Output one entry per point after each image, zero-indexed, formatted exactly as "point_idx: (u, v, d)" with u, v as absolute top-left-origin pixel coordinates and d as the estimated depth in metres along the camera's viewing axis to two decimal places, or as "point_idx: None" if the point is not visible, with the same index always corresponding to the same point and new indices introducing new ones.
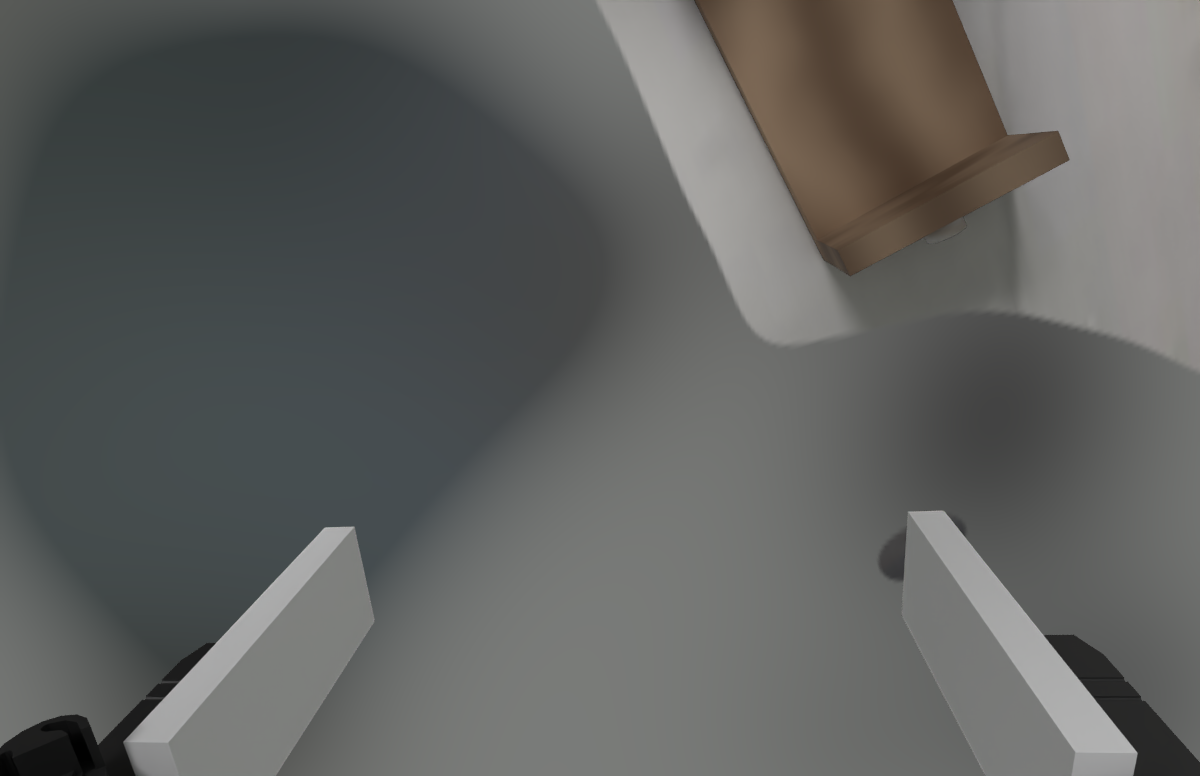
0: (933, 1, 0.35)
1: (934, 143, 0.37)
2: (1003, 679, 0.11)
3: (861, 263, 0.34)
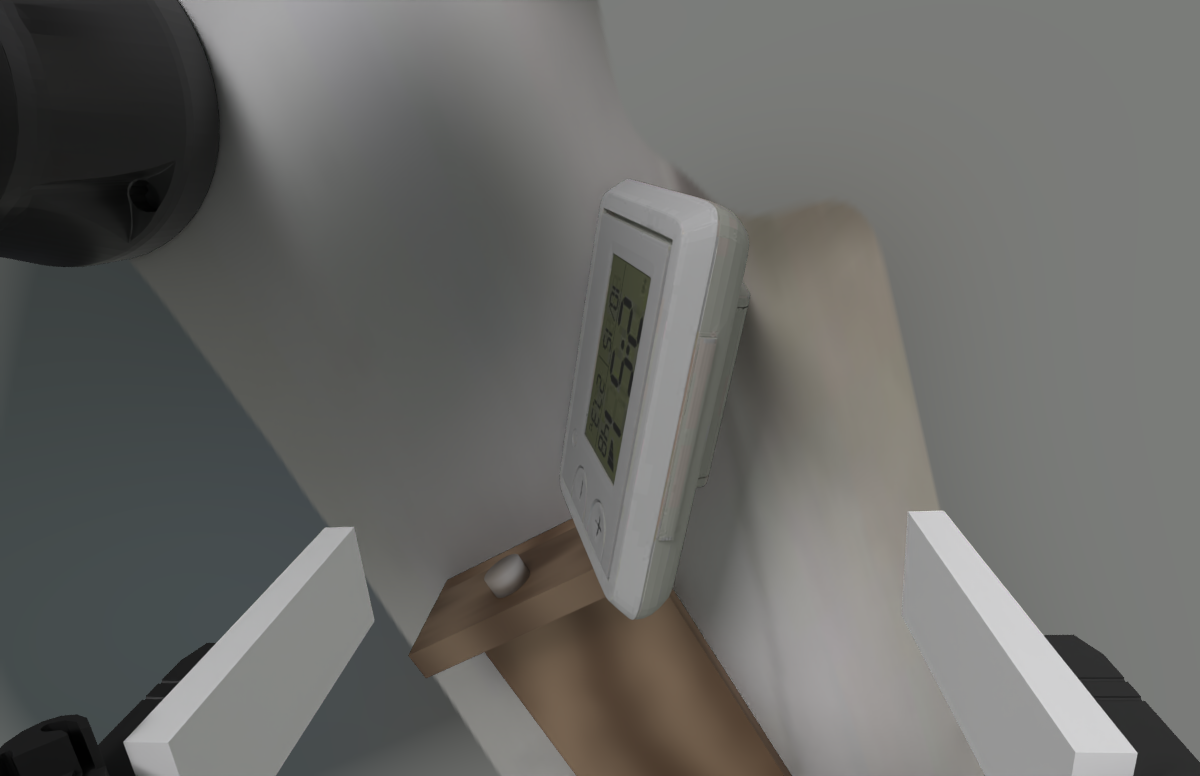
0: (714, 691, 0.38)
1: None
2: (1003, 679, 0.11)
3: None
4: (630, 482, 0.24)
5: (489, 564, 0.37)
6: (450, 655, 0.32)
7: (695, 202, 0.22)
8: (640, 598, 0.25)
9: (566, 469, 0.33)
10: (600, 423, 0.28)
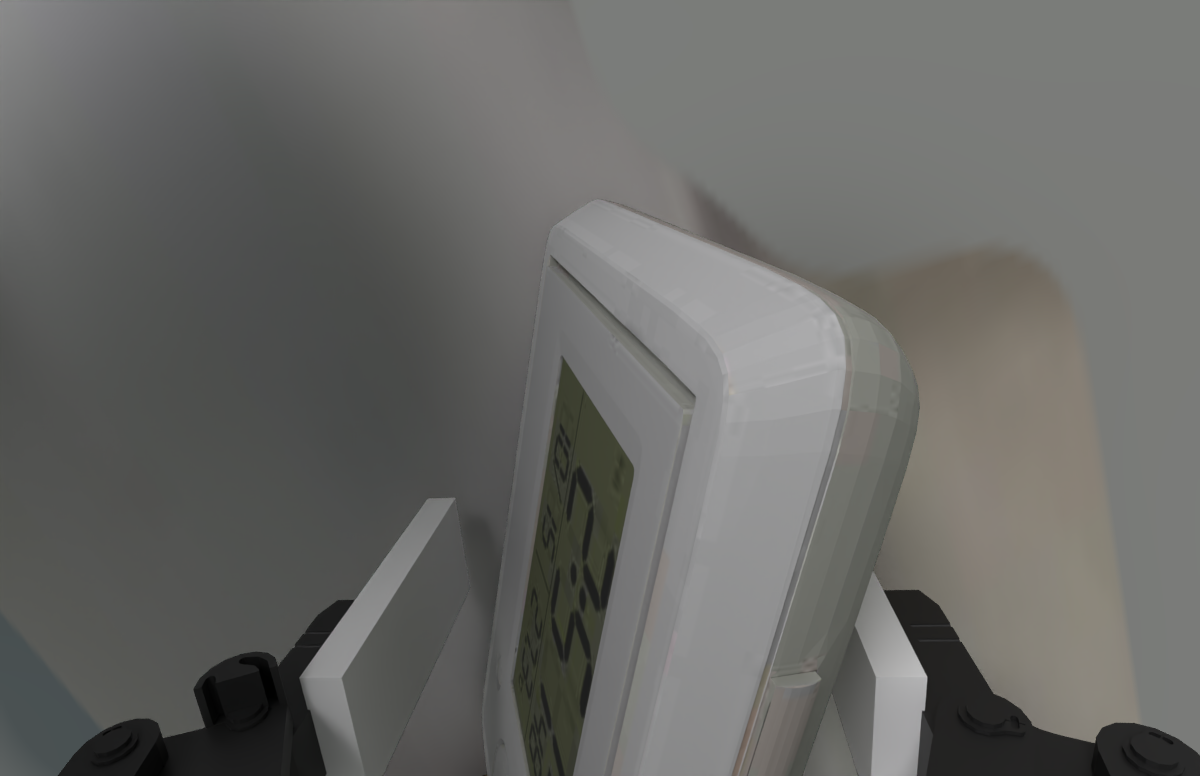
0: None
1: None
2: None
3: None
4: None
5: None
6: None
7: (763, 285, 0.08)
8: None
9: (488, 714, 0.18)
10: (534, 699, 0.14)
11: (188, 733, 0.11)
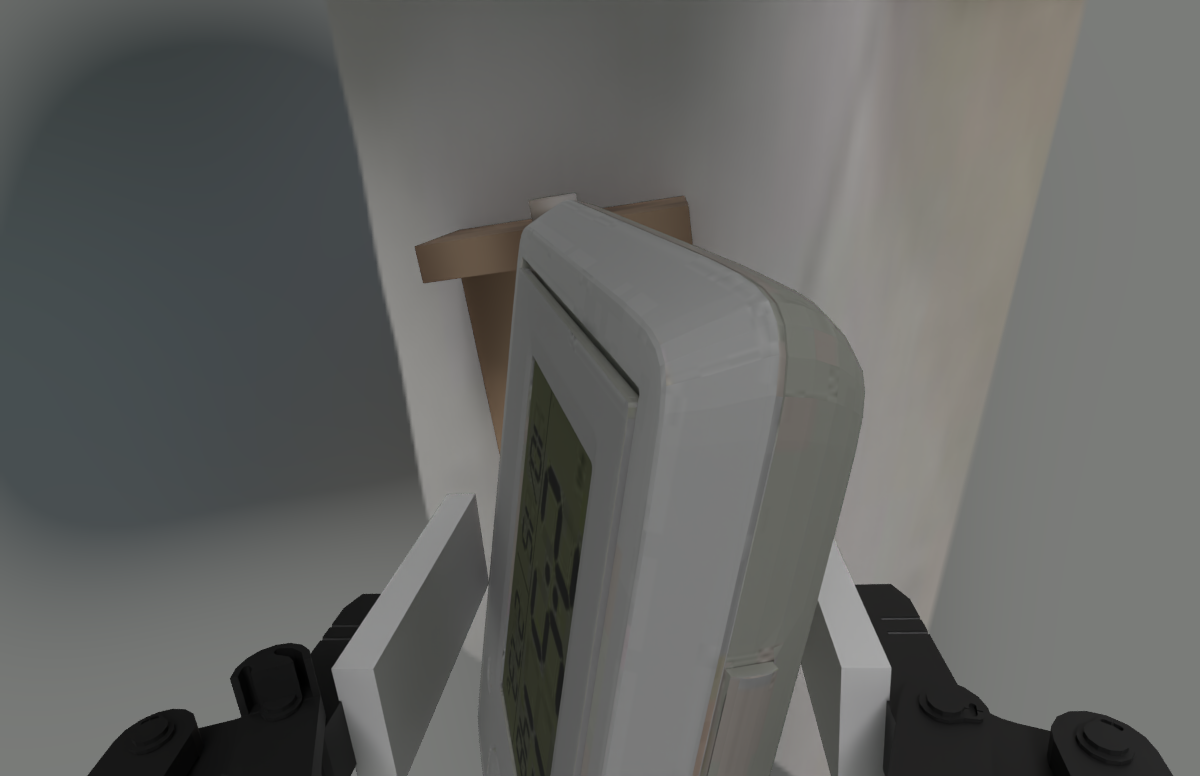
0: None
1: None
2: (816, 618, 0.13)
3: None
4: None
5: (518, 221, 0.32)
6: (463, 262, 0.27)
7: (705, 276, 0.08)
8: None
9: (482, 719, 0.18)
10: (519, 701, 0.14)
11: (222, 723, 0.12)
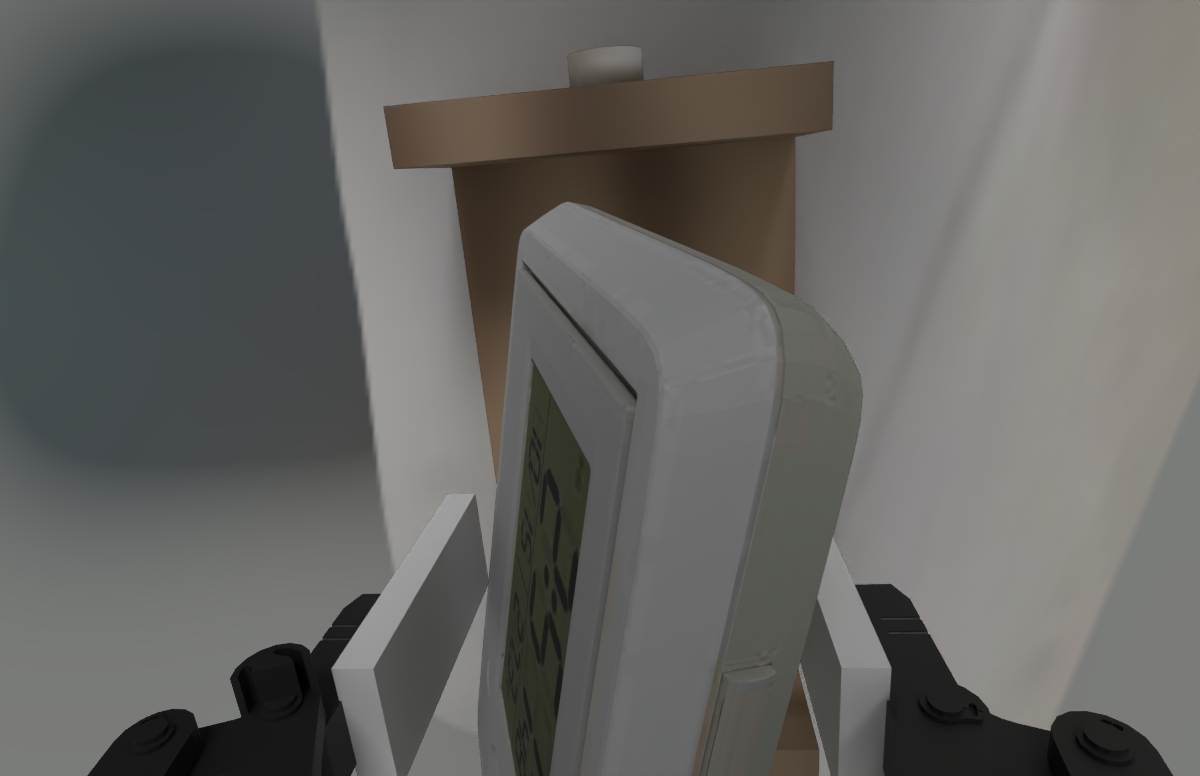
0: None
1: None
2: (816, 618, 0.13)
3: None
4: None
5: None
6: (460, 138, 0.17)
7: (702, 279, 0.08)
8: None
9: (481, 721, 0.18)
10: (518, 703, 0.14)
11: (222, 723, 0.12)
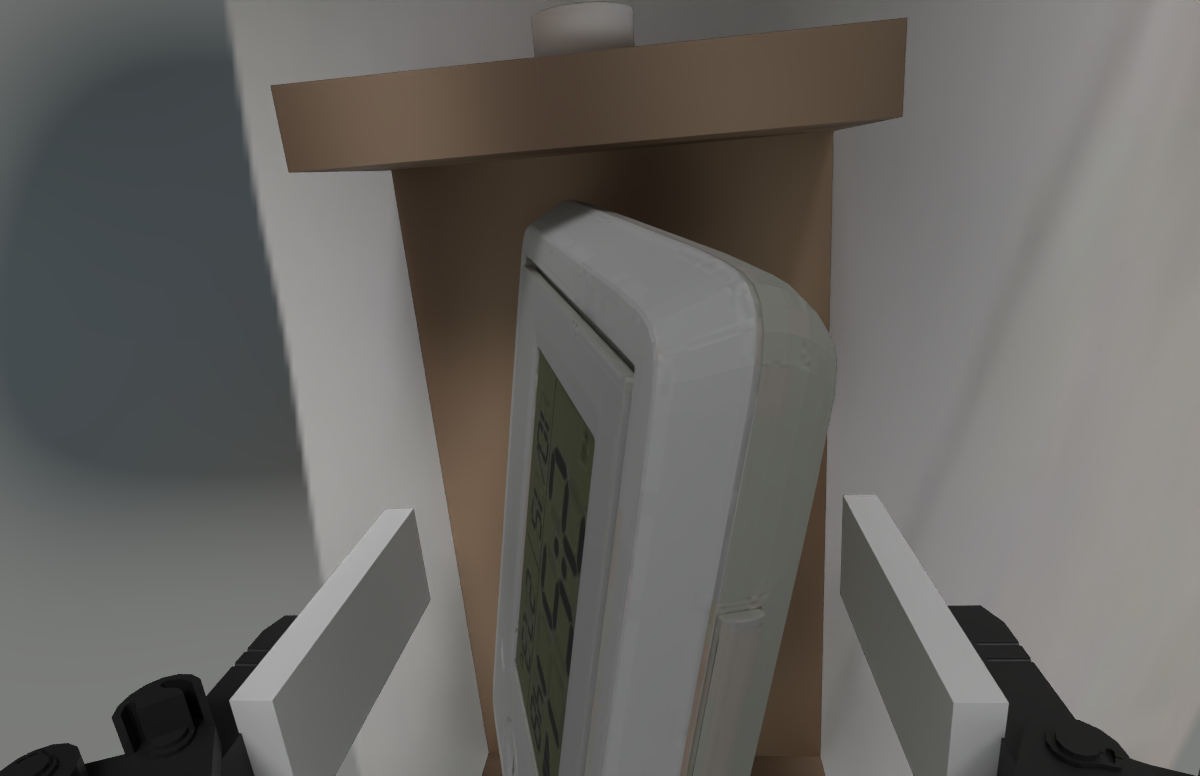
0: None
1: None
2: (907, 643, 0.12)
3: None
4: None
5: None
6: (378, 130, 0.12)
7: (691, 263, 0.08)
8: None
9: (497, 697, 0.19)
10: (532, 672, 0.15)
11: (114, 758, 0.11)
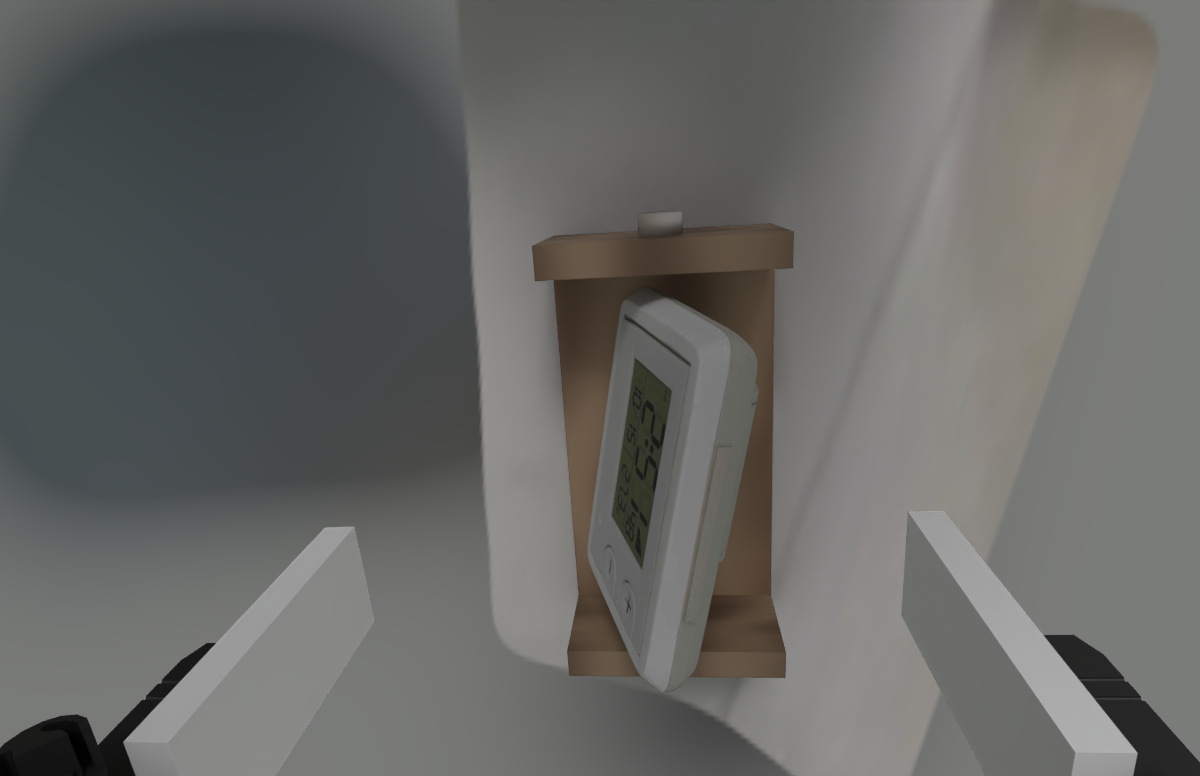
0: (756, 464, 0.36)
1: None
2: (1003, 679, 0.11)
3: (583, 670, 0.35)
4: (658, 570, 0.27)
5: (614, 233, 0.34)
6: (576, 265, 0.29)
7: (709, 329, 0.25)
8: (669, 673, 0.28)
9: (594, 545, 0.36)
10: (627, 509, 0.31)
11: None
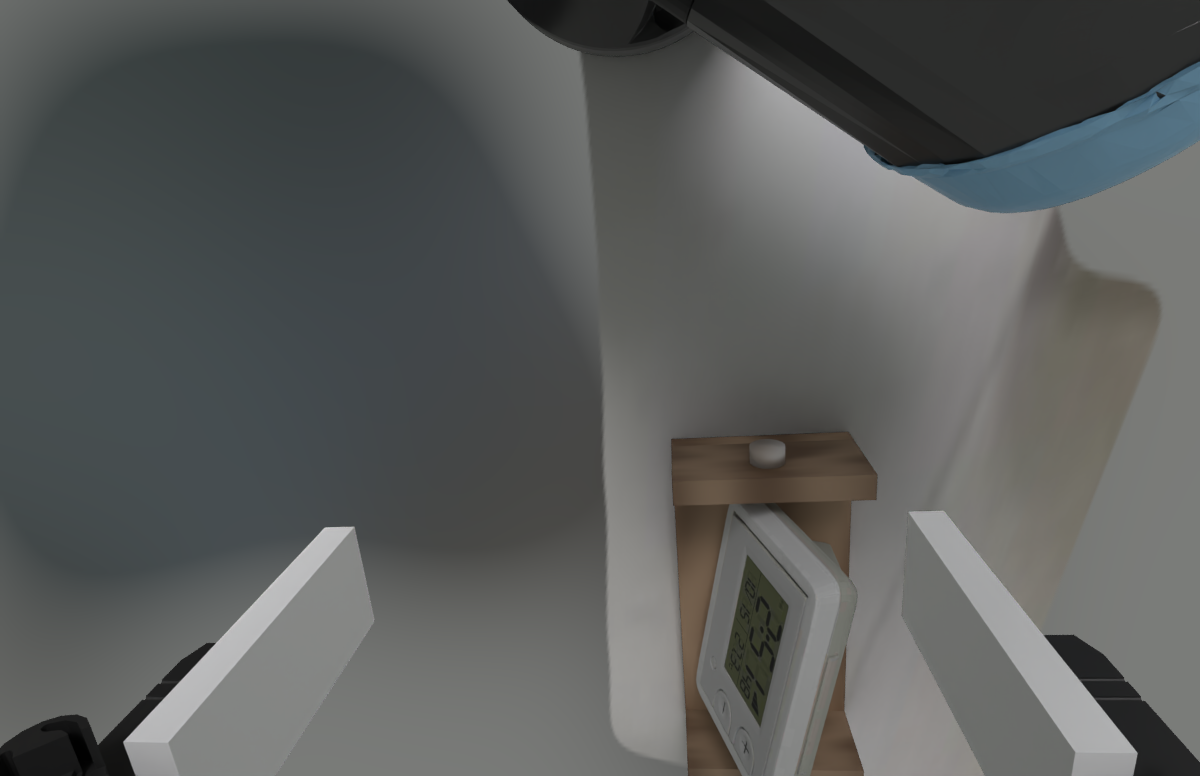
0: None
1: None
2: (1003, 679, 0.11)
3: None
4: (777, 736, 0.36)
5: (722, 441, 0.43)
6: (706, 495, 0.38)
7: (820, 569, 0.34)
8: None
9: (705, 681, 0.45)
10: (741, 670, 0.40)
11: None
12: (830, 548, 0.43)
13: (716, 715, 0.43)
